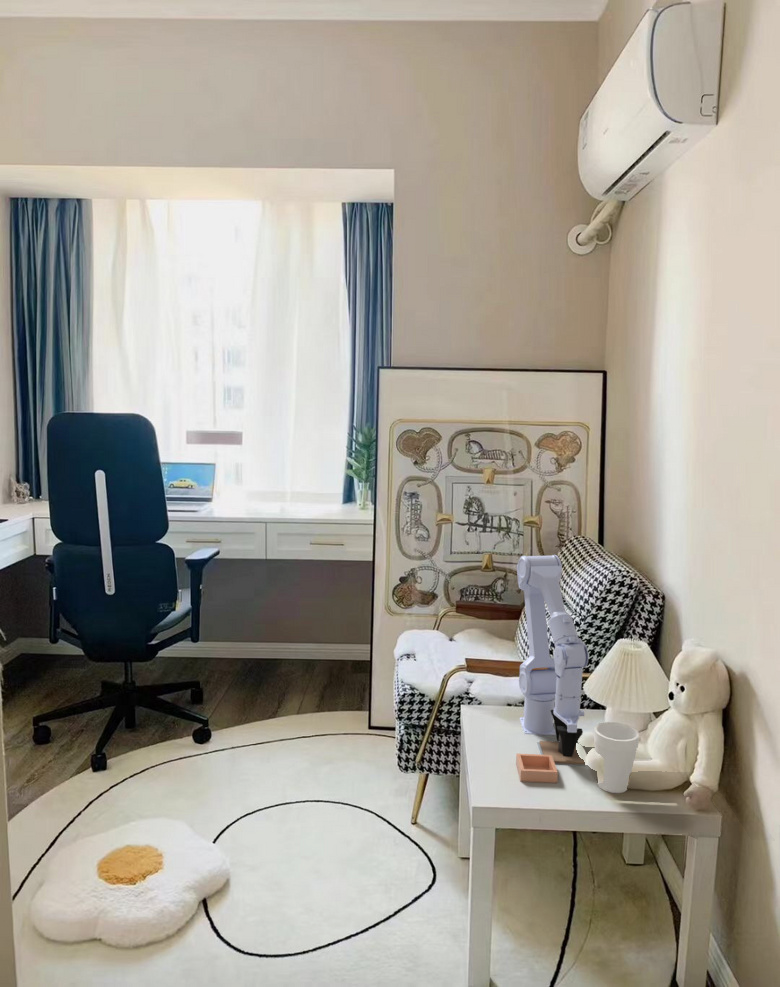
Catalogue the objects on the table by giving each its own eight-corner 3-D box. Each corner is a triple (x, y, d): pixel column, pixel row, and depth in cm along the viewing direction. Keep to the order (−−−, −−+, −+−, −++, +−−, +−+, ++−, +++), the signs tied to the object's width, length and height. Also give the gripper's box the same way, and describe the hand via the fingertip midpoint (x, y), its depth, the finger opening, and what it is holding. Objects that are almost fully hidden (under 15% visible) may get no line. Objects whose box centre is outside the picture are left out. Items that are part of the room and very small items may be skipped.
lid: (539, 743, 198) (540, 725, 198) (581, 745, 198) (582, 727, 197) (545, 763, 188) (547, 744, 188) (589, 765, 188) (591, 746, 188)
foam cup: (639, 784, 181) (644, 729, 179) (628, 803, 173) (633, 745, 171) (596, 773, 186) (601, 718, 184) (584, 790, 178) (588, 733, 176)
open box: (515, 765, 188) (516, 753, 187) (550, 767, 188) (551, 755, 187) (520, 783, 180) (521, 770, 179) (556, 785, 180) (557, 772, 179)
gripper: (592, 706, 184) (587, 763, 186) (579, 682, 198) (575, 735, 200) (560, 705, 184) (556, 762, 186) (549, 680, 198) (546, 734, 200)
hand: (564, 748), depth 193 cm, fingers open, 7 cm apart
